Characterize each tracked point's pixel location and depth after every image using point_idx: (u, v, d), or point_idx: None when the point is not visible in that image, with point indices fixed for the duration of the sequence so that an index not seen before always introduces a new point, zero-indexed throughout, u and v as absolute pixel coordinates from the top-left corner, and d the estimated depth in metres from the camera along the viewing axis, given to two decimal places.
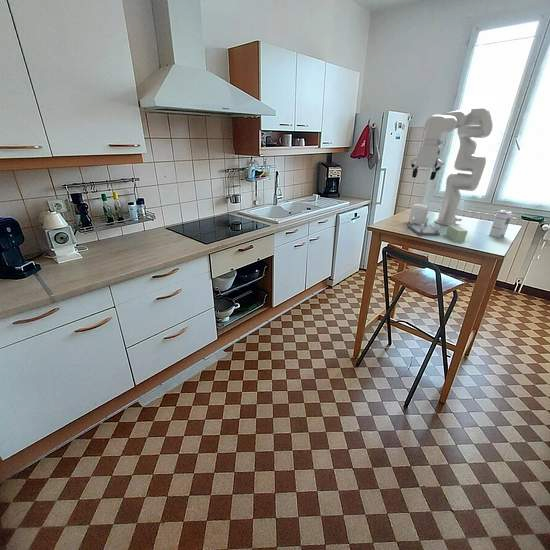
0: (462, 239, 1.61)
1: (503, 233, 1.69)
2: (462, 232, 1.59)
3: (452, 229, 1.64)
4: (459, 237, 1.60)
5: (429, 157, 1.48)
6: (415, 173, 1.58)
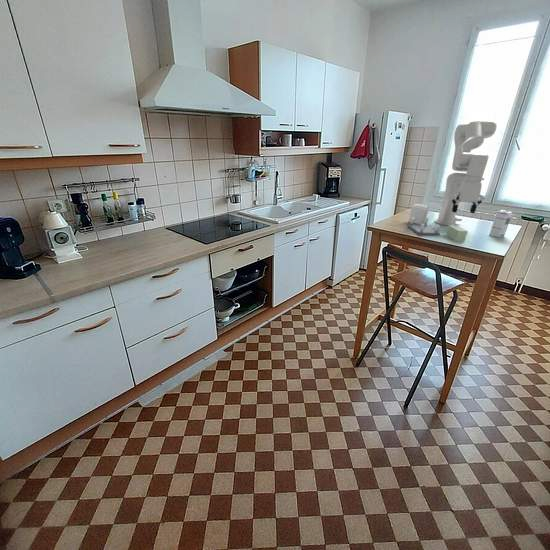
0: (462, 239, 1.61)
1: (503, 233, 1.69)
2: (462, 232, 1.59)
3: (452, 229, 1.64)
4: (459, 237, 1.60)
5: (475, 193, 1.53)
6: None
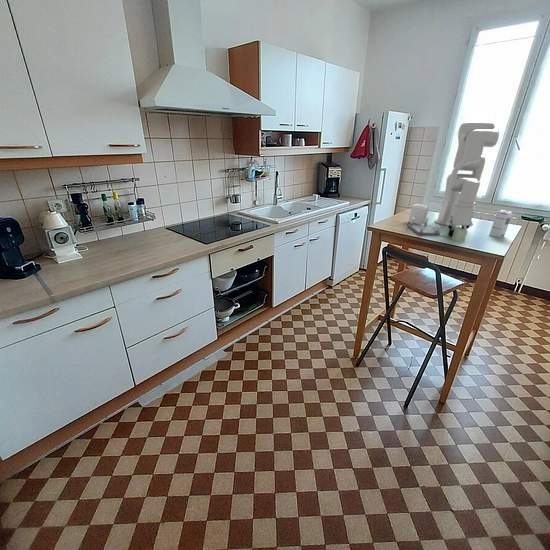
0: (462, 239, 1.61)
1: (503, 233, 1.69)
2: (462, 232, 1.59)
3: None
4: (459, 237, 1.60)
5: (467, 217, 1.58)
6: None
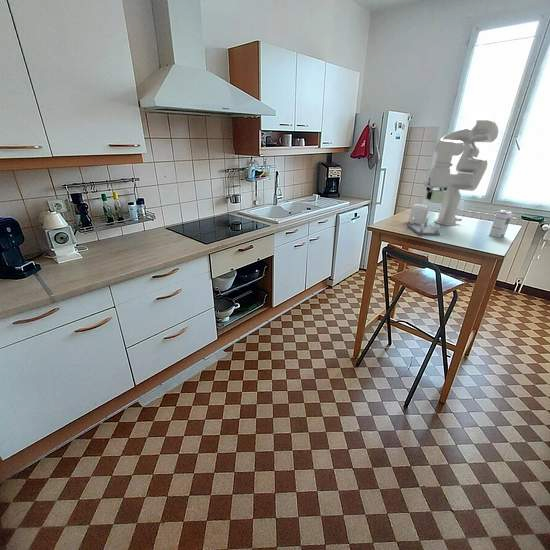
0: (440, 200, 1.63)
1: (503, 233, 1.69)
2: (440, 193, 1.61)
3: None
4: (437, 198, 1.62)
5: (444, 178, 1.61)
6: None
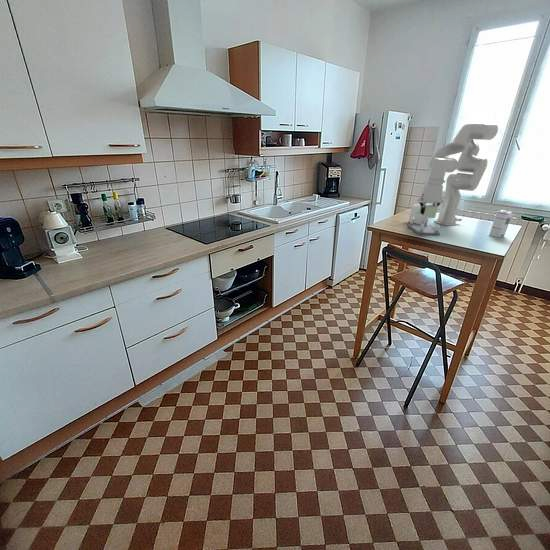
0: (433, 215, 1.67)
1: (503, 233, 1.69)
2: (432, 208, 1.66)
3: None
4: (429, 213, 1.67)
5: (437, 194, 1.65)
6: None
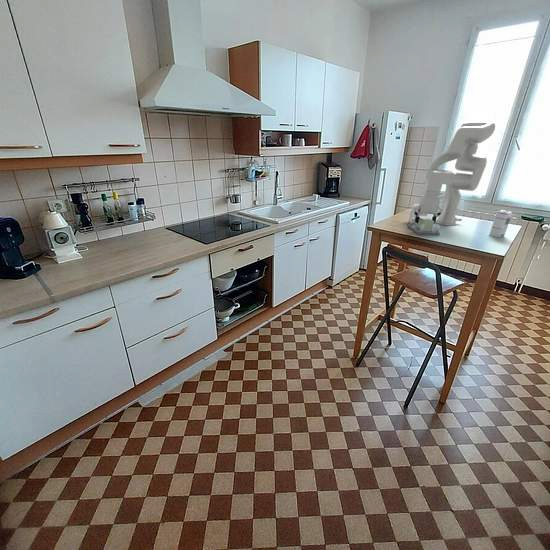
0: (429, 229, 1.71)
1: (503, 233, 1.69)
2: (429, 222, 1.69)
3: (421, 219, 1.75)
4: (426, 227, 1.70)
5: (434, 206, 1.68)
6: None
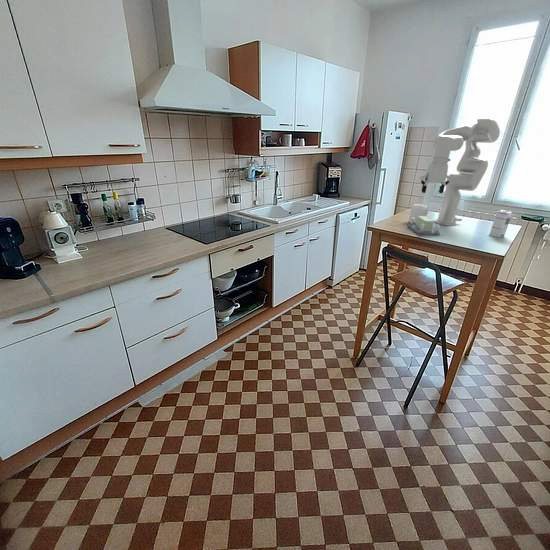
0: (429, 229, 1.71)
1: (503, 233, 1.69)
2: (429, 222, 1.69)
3: (421, 219, 1.75)
4: (426, 227, 1.70)
5: (442, 173, 1.61)
6: None
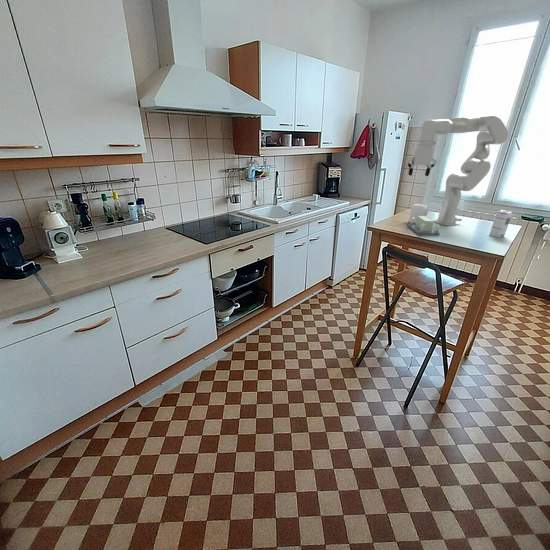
0: (429, 229, 1.71)
1: (503, 233, 1.69)
2: (429, 222, 1.69)
3: (421, 219, 1.75)
4: (426, 227, 1.70)
5: (427, 156, 1.68)
6: None
